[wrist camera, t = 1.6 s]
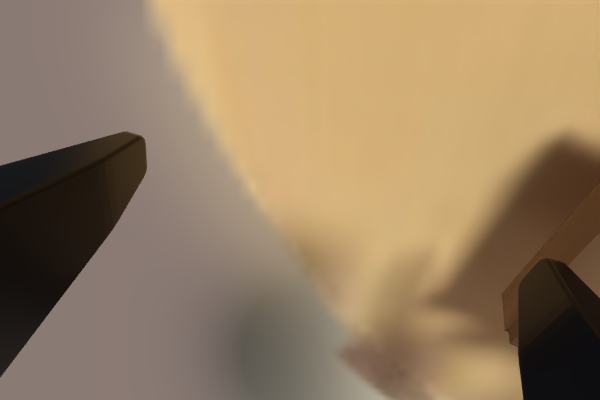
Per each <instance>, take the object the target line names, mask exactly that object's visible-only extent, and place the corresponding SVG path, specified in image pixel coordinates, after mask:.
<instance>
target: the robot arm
mask: <svg viewBox="0 0 600 400" xmlns="http://www.w3.org/2000/svg"><path fill="white" fill-rule="evenodd" d="M146 170H147V160H146V143H145V139H144V138H143V137H142V136H140V135H137V134H134V133H130V132H121V133H117V134H114V135H110V136H106V137H103V138H100V139H96V140H92V141H88V142H85V143H81V144H77V145H74V146H70V147H66V148H63V149H59V150H56V151H52V152H48V153H45V154H41V155H38V156H34V157H30V158H26V159H23V160H19V161H16V162H12V163H9V164H5V165H1V166H0V377H1V376H2V375H3V373H4V372H5V371H6V369H7V368H8V367H9V365H10V364H11V363H12V361H13V360H14V359H15V357H16V356H17V355H18V353H19V352H20V351H21V349H22V348H23V347H24V345H25V344H26V343H27V342H28V340H29V339H30V337H31V336H32V335H33V334H34V332H35V331H36V330H37V328H38V327H39V326H40V324H41V323H42V322H43V321H44V319H45V318H46V317H47V315H48V314H49V312H50V311H51V310H52V309H53V307H54V306H55V305H56V303H57V302H58V301H59V300H60V298H61V297H62V296H63V294H64V293H65V292H66V290H67V289H68V288H69V286H70V285H71V284H72V282H73V281H74V280H75V278H76V277H77V276H78V274H79V273H80V272H81V271H82V269H83V268H84V267H85V265H86V264H87V263H88V261H89V260H90V259H91V257H92V256H93V255H94V254H95V252H96V251H97V249H98V248H99V247H100V245H101V244H102V243H103V242H104V240H105V239H106V238H107V236H108V235H109V234H110V232H111V231H112V230H113V228H114V226H115V225H116V223H117V222H118V220H119V219H120V217H121V215H122V214H123V212H124V210H125V208H126V207H127V205H128V203H129V202H130V200H131V198H132V196H133V195H134V193H135V191H136V190H137V188H138V186H139V184H140V183H141V181H142V179H143V178H144V176H145V173H146ZM518 356H519V366H520V375H521V383H522V391H523V399H524V400H600V298H599V297H598V296H597V295H596V294H595V293H594V292H593V291H592V290H591V289H590V288H589V287H588V286H587V285H586V284H585V283H584V282H583V281H582V280H581V279H580V278H579V277H578V276H577V275H576V274H575V273H574V272H573V271H572V270H571V269H570V268H569V267H568V266H567V265H566V264H565V263H563V262H561V261H558V260H554V259H551V258H547V257H544V258H541V259H540V260H538V261H537V263H536V264H535V265H534V266H533V267H532V268H531V269H530V270H529V272H528V273H527V274H526V275H525V276H524V277H523V278H522V280H521V281H520V283H519V286H518Z"/></svg>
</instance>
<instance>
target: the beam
mask: <svg viewBox="0 0 600 400" xmlns="http://www.w3.org/2000/svg"><path fill="white" fill-rule="evenodd" d="M544 257H547V258H551V259H554V260H558V261H561V262H563V263H565V264H566V265H567V266H568V267H569V268H570V269H571V270H572V271H573V272H574V273H575V274H576V275H577V276H578V277H579V278H580V279H581V280H582V281H583V282H584V283H585V284H586V285H587V286H588V287H589V288H590V289H591V290H592V291H593V292H594V293H595V294H596V295H597V296H598V297H599V298H600V181H599V183H598V184H597V185H596V186H595V187H594V188H593V190H592V191H591V192H590V193H589V194H588V195H587V197H586V198H585V199H584V200H583V201H582V202H581V203H580V205H579V206H578V207H577V208H576V209H575V210H574V212H573V213H572V214H571V215H570V216H569V217H568V218H567V220H566V221H565V222H564V223H563V224H562V225H561V227H560V228H559V229H558V230H557V231H556V232H555V233H554V235H553V236H552V237H551V238H550V239H549V240H548V242H547V243H546V244H545V245H544V246H543V247H542V248H541V250H540V251H539V252H538V253H537V254H536V255H535V257H534V258H533V259H532V260H531V261H530V262H529V263H528V265H527V266H526V267H525V268H524V269H523V270H522V272H521V273H520V274H519V275H518V276H517V277H516V278H515V280H514V281H513V282H512V283H511V284H510V285H509V287H508V288H507V289H506V290H505V291H504V292H503V294H502V298H503V311H504V324H505V331H508V332H509V339H510V344H512V345H515V346H517V347H518V286H519V283H520V281H521V280H522V278H523V277H524V276H525V275H526V274H527V273H528V272H529V270H530V269H531V268H532V267H533V266H534V265H535V264H536V263H537V261H538V260H540V259H541V258H544Z"/></svg>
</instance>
